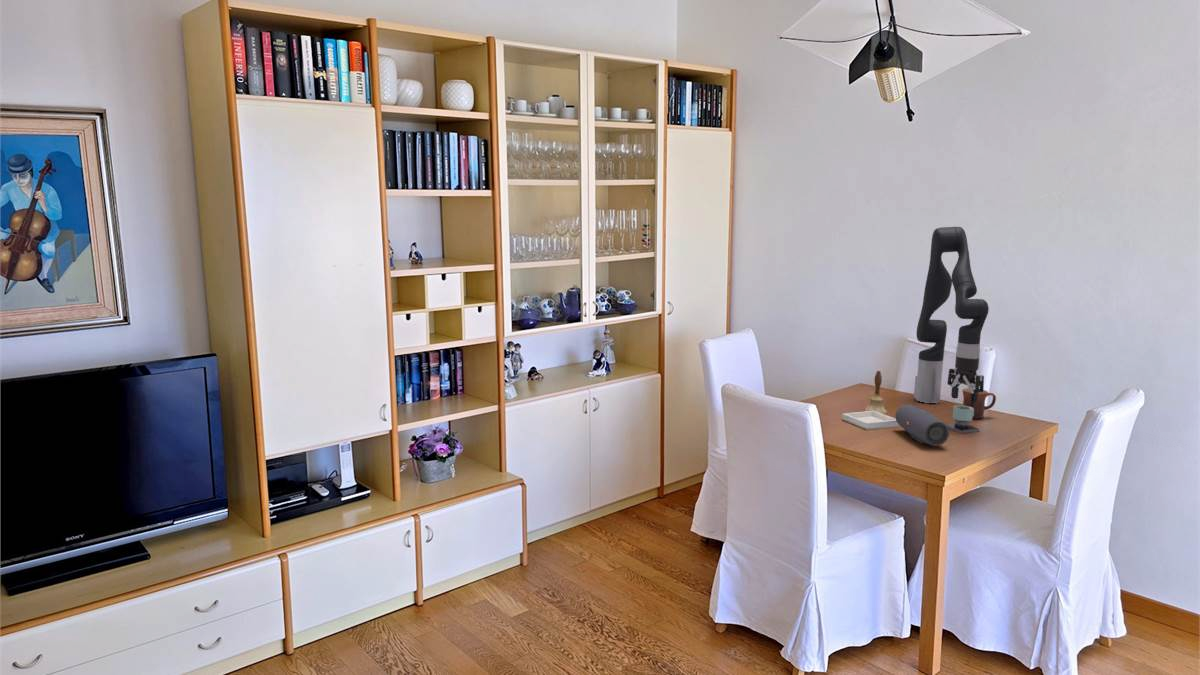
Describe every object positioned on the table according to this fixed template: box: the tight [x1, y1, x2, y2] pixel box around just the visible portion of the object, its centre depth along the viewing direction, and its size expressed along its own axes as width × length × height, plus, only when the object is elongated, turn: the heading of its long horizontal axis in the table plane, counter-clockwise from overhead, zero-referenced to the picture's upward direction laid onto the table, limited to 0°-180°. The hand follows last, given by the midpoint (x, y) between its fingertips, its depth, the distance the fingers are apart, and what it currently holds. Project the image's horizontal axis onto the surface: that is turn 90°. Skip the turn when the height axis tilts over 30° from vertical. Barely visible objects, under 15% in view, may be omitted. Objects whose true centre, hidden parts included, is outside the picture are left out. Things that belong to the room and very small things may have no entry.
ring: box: [952, 404, 974, 422], centre depth 294 cm, size 6×7×4 cm
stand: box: [945, 408, 980, 434], centre depth 294 cm, size 8×8×8 cm
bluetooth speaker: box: [894, 403, 950, 447], centre depth 281 cm, size 23×9×10 cm, turn 4°
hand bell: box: [864, 370, 888, 415], centre depth 316 cm, size 8×8×16 cm
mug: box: [962, 387, 997, 420], centre depth 310 cm, size 12×9×10 cm
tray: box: [841, 410, 900, 431], centre depth 301 cm, size 14×14×2 cm
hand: (963, 400), depth 293 cm, fingers open, 8 cm apart
